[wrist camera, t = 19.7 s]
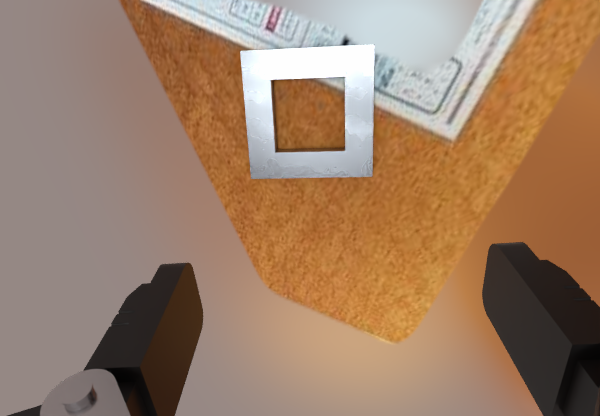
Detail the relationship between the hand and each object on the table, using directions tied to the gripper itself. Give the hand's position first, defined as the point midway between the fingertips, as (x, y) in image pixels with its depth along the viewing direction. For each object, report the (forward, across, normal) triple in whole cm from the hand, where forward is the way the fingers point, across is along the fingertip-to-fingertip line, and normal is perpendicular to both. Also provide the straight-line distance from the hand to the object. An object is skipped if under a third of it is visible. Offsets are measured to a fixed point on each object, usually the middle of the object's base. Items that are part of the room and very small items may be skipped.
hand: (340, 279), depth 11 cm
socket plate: (+31, -1, -3) cm, 31 cm away
